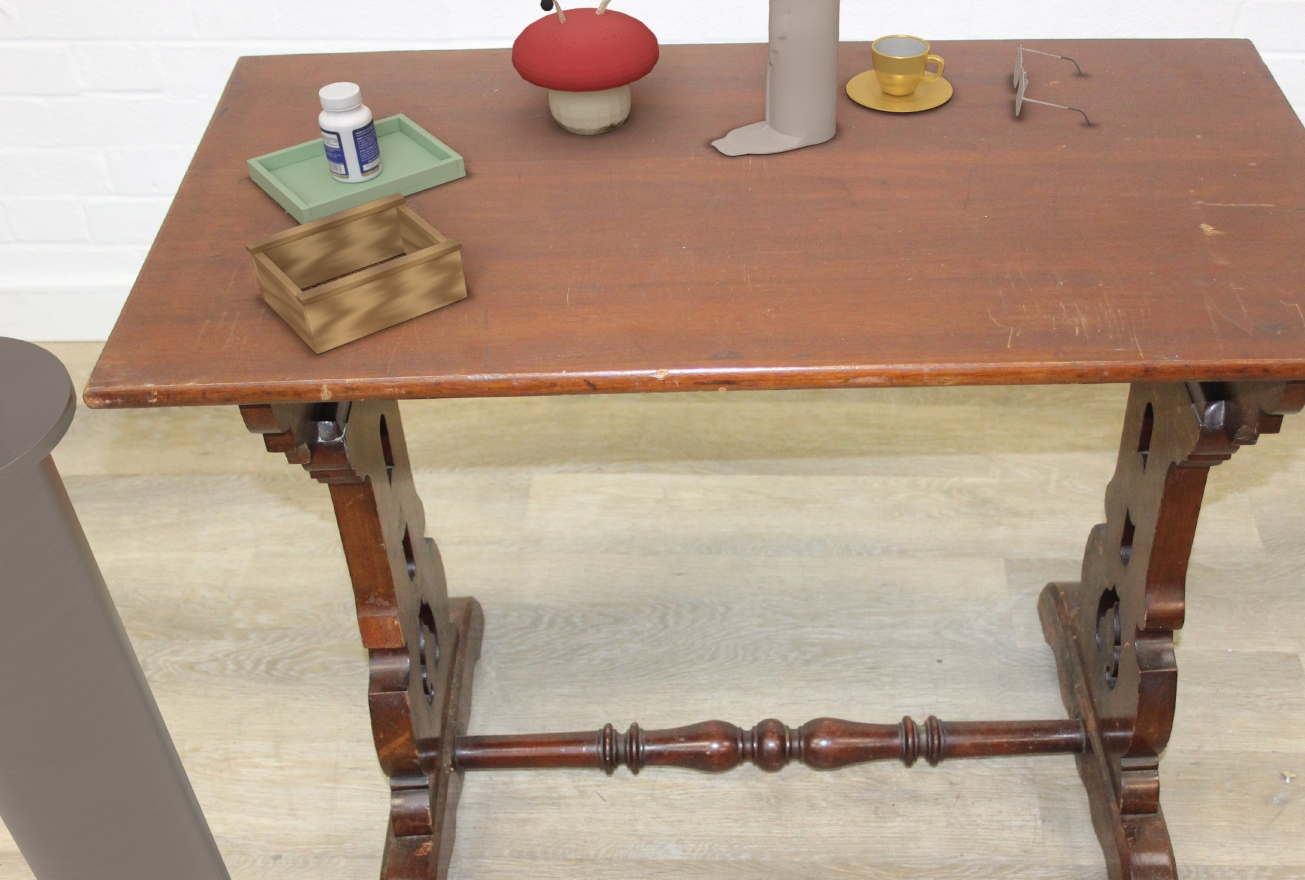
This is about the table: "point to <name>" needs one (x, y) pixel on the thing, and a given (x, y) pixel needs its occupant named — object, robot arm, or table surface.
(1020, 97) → the eyeglasses
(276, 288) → the wooden box
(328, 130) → the pill bottle
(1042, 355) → the table surface
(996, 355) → the table surface
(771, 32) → the candle
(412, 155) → the tray
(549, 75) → the mushroom
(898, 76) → the cup
